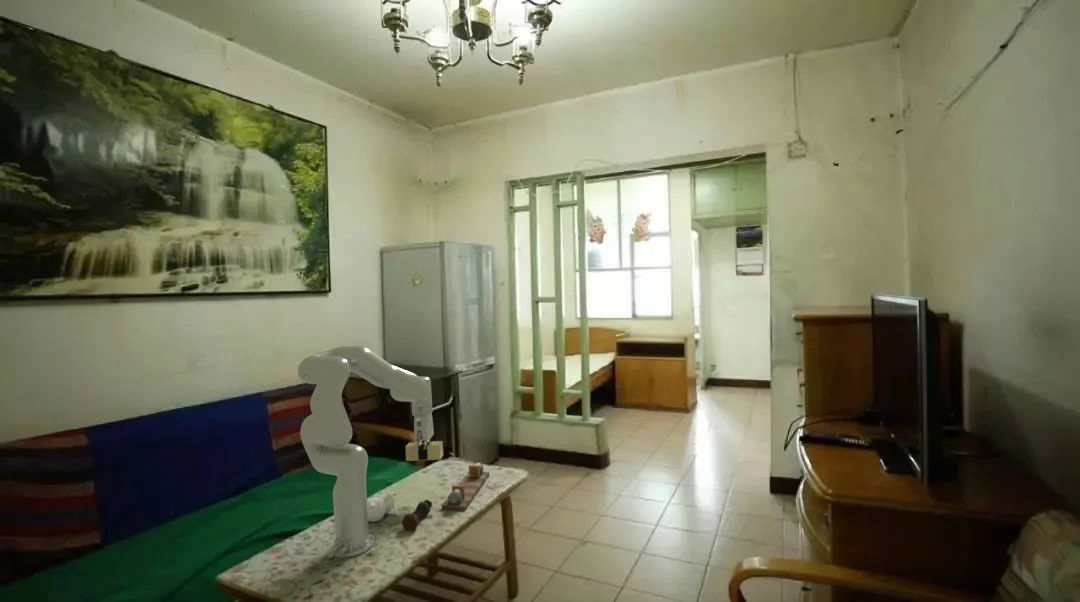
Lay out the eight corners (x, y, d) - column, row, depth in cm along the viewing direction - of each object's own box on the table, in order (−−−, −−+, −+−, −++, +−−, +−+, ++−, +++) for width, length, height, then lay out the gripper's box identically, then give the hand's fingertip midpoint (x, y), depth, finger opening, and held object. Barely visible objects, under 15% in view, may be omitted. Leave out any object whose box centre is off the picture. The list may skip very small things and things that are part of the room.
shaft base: (465, 510, 159) (465, 492, 159) (441, 509, 161) (440, 492, 160) (489, 475, 189) (488, 461, 189) (468, 475, 190) (467, 460, 190)
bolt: (430, 514, 161) (411, 535, 147) (419, 506, 162) (398, 527, 147) (437, 500, 161) (419, 520, 146) (426, 493, 162) (406, 511, 147)
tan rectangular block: (440, 459, 169) (439, 445, 169) (406, 461, 169) (405, 446, 169) (443, 455, 173) (442, 441, 173) (409, 456, 174) (409, 442, 174)
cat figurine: (387, 483, 163) (363, 496, 152) (408, 502, 159) (384, 517, 148) (378, 502, 164) (353, 516, 153) (398, 521, 161) (374, 537, 150)
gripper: (425, 415, 162) (428, 465, 163) (437, 403, 179) (440, 449, 180) (405, 416, 163) (408, 466, 163) (418, 404, 180) (421, 449, 180)
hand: (424, 456), depth 171 cm, fingers closed on tan rectangular block, 4 cm apart
